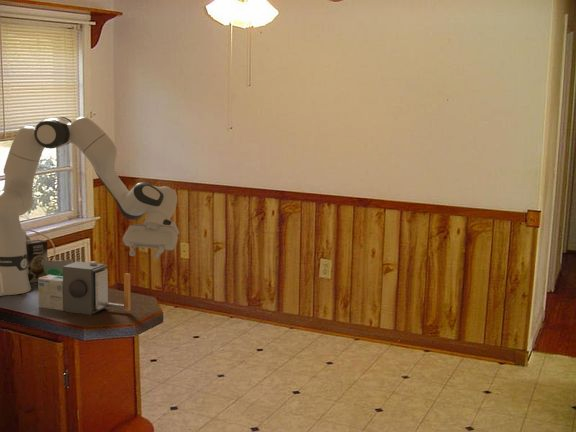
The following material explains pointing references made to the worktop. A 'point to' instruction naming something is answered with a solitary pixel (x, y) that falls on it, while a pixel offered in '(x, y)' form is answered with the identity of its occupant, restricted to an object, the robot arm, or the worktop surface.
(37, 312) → the worktop surface
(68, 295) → the camera body
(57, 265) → the food container
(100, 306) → the side door
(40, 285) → the light bulb box
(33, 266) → the coffee box
